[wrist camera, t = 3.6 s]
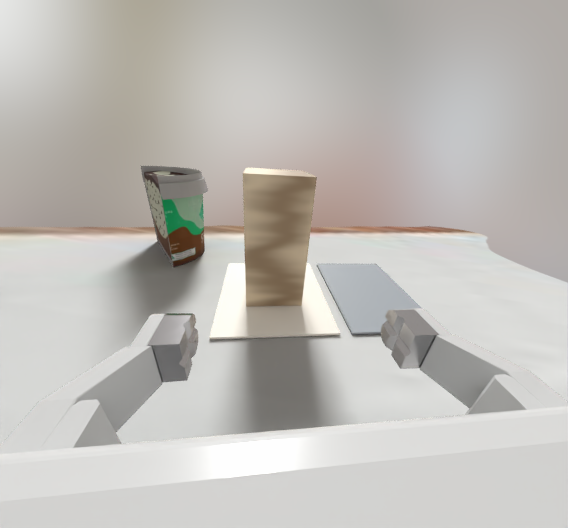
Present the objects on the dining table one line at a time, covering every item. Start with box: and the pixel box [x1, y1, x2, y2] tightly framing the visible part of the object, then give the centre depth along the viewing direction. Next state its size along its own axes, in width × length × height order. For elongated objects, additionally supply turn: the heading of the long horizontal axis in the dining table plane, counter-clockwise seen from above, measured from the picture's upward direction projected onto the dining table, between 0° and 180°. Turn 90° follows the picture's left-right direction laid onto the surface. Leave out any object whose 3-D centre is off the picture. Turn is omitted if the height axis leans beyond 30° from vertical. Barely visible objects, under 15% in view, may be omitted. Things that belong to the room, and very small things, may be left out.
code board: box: [209, 263, 421, 339], centre depth 23 cm, size 19×12×1 cm, turn 96°
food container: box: [141, 166, 208, 267], centre depth 28 cm, size 12×6×10 cm, turn 37°
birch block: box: [243, 168, 317, 306], centre depth 20 cm, size 5×5×11 cm
